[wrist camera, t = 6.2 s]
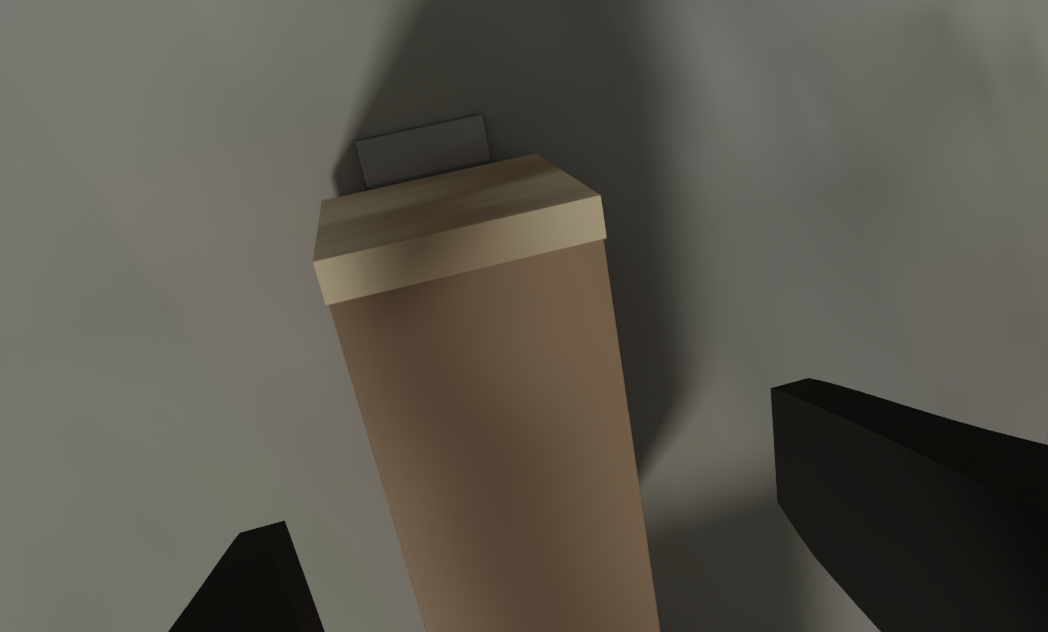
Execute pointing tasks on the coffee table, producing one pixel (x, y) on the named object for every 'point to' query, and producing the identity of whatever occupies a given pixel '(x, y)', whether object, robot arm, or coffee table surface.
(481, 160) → the rail
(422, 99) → the coffee table surface
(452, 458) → the brown rectangular box
